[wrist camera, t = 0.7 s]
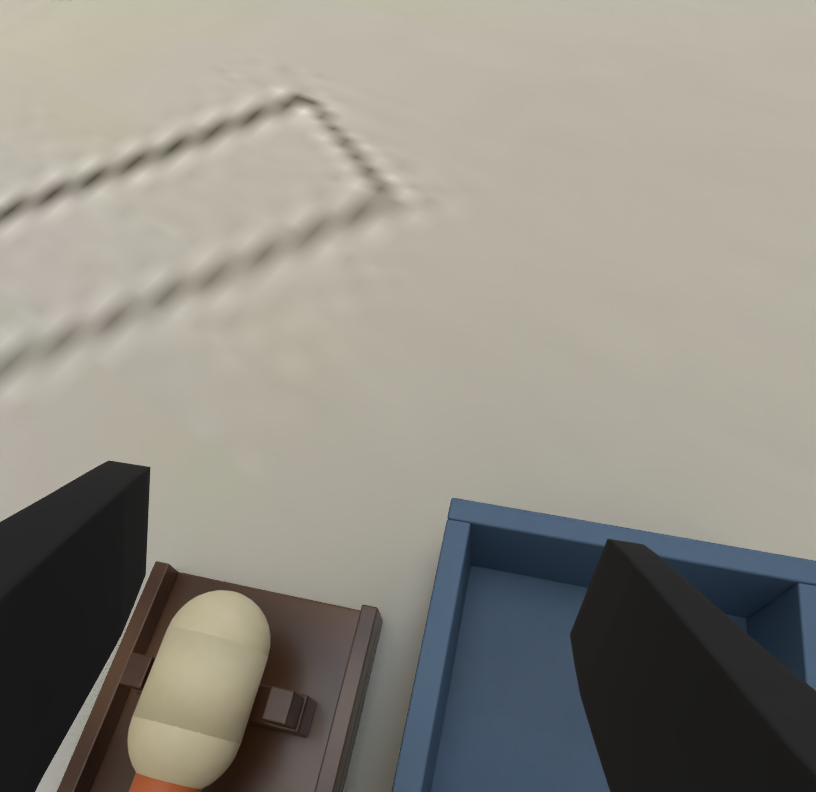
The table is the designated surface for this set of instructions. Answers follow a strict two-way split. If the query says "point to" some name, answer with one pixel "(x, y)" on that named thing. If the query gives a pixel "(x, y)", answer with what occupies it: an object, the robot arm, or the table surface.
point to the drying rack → (275, 700)
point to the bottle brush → (198, 694)
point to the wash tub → (555, 644)
